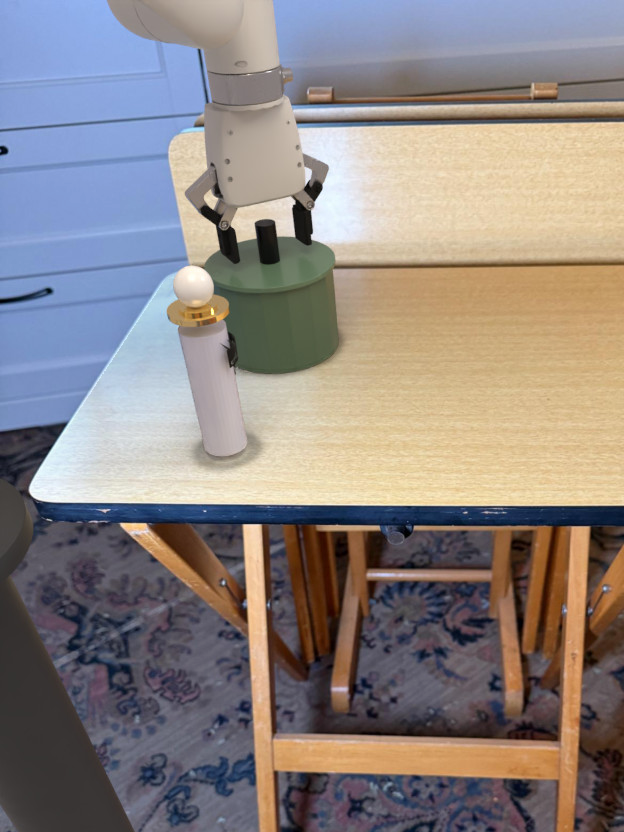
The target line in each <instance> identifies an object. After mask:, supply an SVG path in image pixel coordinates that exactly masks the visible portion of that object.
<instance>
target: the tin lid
mask: <svg viewBox="0 0 624 832" xmlns="http://www.w3.org/2000/svg"><path fill="white" fill-rule="evenodd" d="M254 230H255V237H256V238H251V239H247V240H246V239H245V240H241V241H239V242H238V241H237V244H238V250H239V256H240V262H239V263H237V264H234V263H232V262H231V261H230V260H229V259H228V258H226V256H224V255H222V253H221V251H220V249H218V250H217V251H215V252H214V253H212V254H211V255H210V256H209V257H208V258H207V259H206V261H205V263H204V267H203V269H204V270H205V271H207V272H208V274H209V275H210V276H211V278H212V280H213V284H215V285H217V286H218V287H221V288H224V289H227V290H231V291H236V292H244V293H273V292H282V291H287V290H293V289H297V288H301V287H304V286H307V285H310V284H312V283H315V282H317V281H319V280H321V279H322V278H324V277H326V276H327V275H328V274H329V273H330V272H331V271H332V270H333V271H334V268H335V266H336V255H335V253H334V251H333V249H332V248H331V247H329V246H328V245H326V244H325V243H322V242H320V241H317V240H314V239H311V240H312V244H311V245H308V246H307V245H305V244H303V243H302V242H300V241H299V240H297V239H296V237H295V236H284V235H283V236H278V233H277V225H276V221H275V220H274V219H270V218H263V219H258V220H257V221H255V222H254Z"/></svg>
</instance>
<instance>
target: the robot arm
mask: <svg viewBox="0 0 624 832" xmlns="http://www.w3.org/2000/svg"><path fill="white" fill-rule="evenodd" d="M106 3H107V5H108V8H109V9H110V11H111V13H112V15H113V16H114V18H115V19H116V20H117V21H118V22H119V24H120V25H121V26H123V27H124V28H125V29H126V30H128V32H130V33H132V34H133V35H135V36H138V37H140V38H142V39H146V40H149V41H154V42H160V43H164V44H174V45H180V46H184V47H189V48H192V49H198V50H202V51H203V57H204V62H205V69H206V75H207V80H208V86H209V92H210V98H211V102H207V103H205V105H204V110H203V117H204V118H203V128H204V147H205V149H204V150H205V159H206V171H204V172H203V173H202V174H201V175H200V176H199V177H197V178H196V180H195V181H194V182H192V184H190V185H189V187H187V189H186V190H185V191H184V196H185V198H186V199H187V200H188V202H189V203H190V204H191V205H192V206H193V207H194V209H195V210H196V211H197V213H198V214H200V215H201V216H202V217H204V218H205V219H206V220H207V221H209V222H210V223H212V224H213V225H215V229H216V235H217V241H218V246H219V250H220V251H221V253H222V255H224V256H226V258H228V259H229V260H230V261H231V262H232V263H234V264H237V263H239V262H240V256H239V250H238V244H237V243H238V238H237V233H236V229H235V228H234V227H233V226H232V223H233V220H234V218H235V215H236V213H237V211H238V209H239V208H245V207H249V206H255V205H259V204H263V203H269V202H273V201H278V200H282V199H286V198H290V197H291V199H293V201H294V204H292V207H291V211H292V221H293V230H294V237H296V239H297V240H299V241H300V242H302V243H303V244H305V245H307V246H308V245H311V244H312V240H313V239H312V235H313V234H314V226H313V216H312V210H314V208H315V206H316V203H315V202H316V201H317V199H318V197H319V196H320V195H321V193H322V192H323V188H324V186H323V185H324V183H325V181H326V179H327V175H328V173H329V170H330V166H329V165H328V164H327V163H325V162H323V161H321V160H319V159H317V158H315V157H313V156H311V155H309V154H306V153H305V152H303V147H302V144H301V137H300V133H299V128H298V125H297V120H296V117H295V113H294V110H293V107H292V103H291V99H290V98H289V97H288V96H287V95H286V94H284V93H285V92H286V89H285V85H287V83H292V82H293V81H294V74H293V70H292V68H291V67H284V66H283V64H281V63H280V62H281V61H280V54H279V53H280V52H279V44H278V35H277V34H278V33H277V24H276V15H275V7H274V0H106ZM305 168H307V169H309V170H310V171H311V174H310V179H309V180H308V181H307V182H306V169H305ZM209 191H210V192H211V194H212V196H213V197H215V198H217V200H216V202H215V205H214V207H213V208H211V207H210V206H209V204H208V203H207V202H206V200H205V195H206V194H207V193H208V192H209Z"/></svg>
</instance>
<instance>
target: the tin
mask: <svg viewBox="0 0 624 832" xmlns="http://www.w3.org/2000/svg"><path fill="white" fill-rule="evenodd" d="M334 277H335V276H334V269H333V270H332V271H331V272H330V273H329V274H328V275H327V276H326V277H324V278H322V279H321V280H319V281H317V282H315V283H312V284H310V285H307V286H304V287H301V288H297V289H293V290H287V291H282V292H273V293H244V292H236V291H231V290H227V289H224V288H221V287H218V286H217V285H215V284H214V293H213V295H218V296H221V297H224V298H225V299H227V301H228V302H229V306H230V312H229V314H228V315H227V316H226V317H225V318H224V319H223V320H224V321H225V322H226V327H227V331H228V332H230V333H231V334H233V335H234V337H235V340H236V346H237V352H238V355H237V356H238V361H237V363H236V364H235V366H236V367H237V368H238V369H241V370H244V371H248V372H251V373H257V374H258V373H259V374H268V375H269V374H271V375H273V374H274V375H275V374H287V373H295V372H298V371H299V372H300V371H304V370H306V369H308V368H309V369H310V368H312V367H315V366H317V365H320V364H321V363H323V362H324V361H327V360H328V359H329V358H330V357H332V355H333V354H334V353H335V352H336V350H337V348H338V346H339V342H340V341H339V340H340V338H339V326H338V325H339V324H338V313H337V305H336V304H337V303H336V302H337V301H336V292H335V291H336V290H335V280H334V279H335V278H334ZM232 343H233V342H232ZM235 354H236V353H235ZM237 356H236V357H237ZM236 357H235V358H236ZM233 360H235V359H233ZM233 363H234V362H233Z"/></svg>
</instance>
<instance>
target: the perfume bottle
mask: <svg viewBox="0 0 624 832" xmlns="http://www.w3.org/2000/svg"><path fill="white" fill-rule="evenodd" d="M172 289H173V293H174V295H175V297H176V298H177V299H176V300H174V301H172V302H171V303H170V304H168V306H167V307H166V314H167V319H168V321H169V322H170V323H171V324H173V325H176V326H177V334H178V338H179V343H180V347H181V351H182V356H183V359H184V365H185V370H186V373H187V378H188V382H189V386H190V390H191V395H192V399H193V404H194V409H195V413H196V417H197V421H198V426H199V430H200V435H201V439H202V443H203V449H204V450H205V452H206V453H207V454H210V455H211V456H215V457H228V456H232V455H236V454H238V453H240V452H241V451H243V450H244V449H245V448H246V447H247V445H248V436H247V432H246V425H245V420H244V414H243V410H242V404H241V397H240V393H239V386H238V382H237V377H236V375H237V371H236V367H237V366H235V364H236V363H237V361H238V356H237V355H238V352H237V346H236V340H235V337H234V335H233V334H231V333H230V332H228V331H227V327H226V322H225V321H224V320H223V319H224V318H225V317H226V316H227V315H228V314H229V312H230V306H229V302H228V301H227V299H225V298H224V297H221V296H218V295H213V293H214V284H213V280H212V278H211V276H210V275H209V274H208V272H207V271H205V270H204V267H203V268H202V267H200V266H198V265H194V264H193V265H192V264H191V265H185V266H183V267H182V268H180V269H179V270H177V272H176V274H175V275H174V278H173V281H172ZM232 342H233V343H232ZM235 353H236V354H235ZM236 356H237V357H236ZM235 357H236V358H235ZM233 359H235V360H233ZM233 362H234V363H233Z"/></svg>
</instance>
